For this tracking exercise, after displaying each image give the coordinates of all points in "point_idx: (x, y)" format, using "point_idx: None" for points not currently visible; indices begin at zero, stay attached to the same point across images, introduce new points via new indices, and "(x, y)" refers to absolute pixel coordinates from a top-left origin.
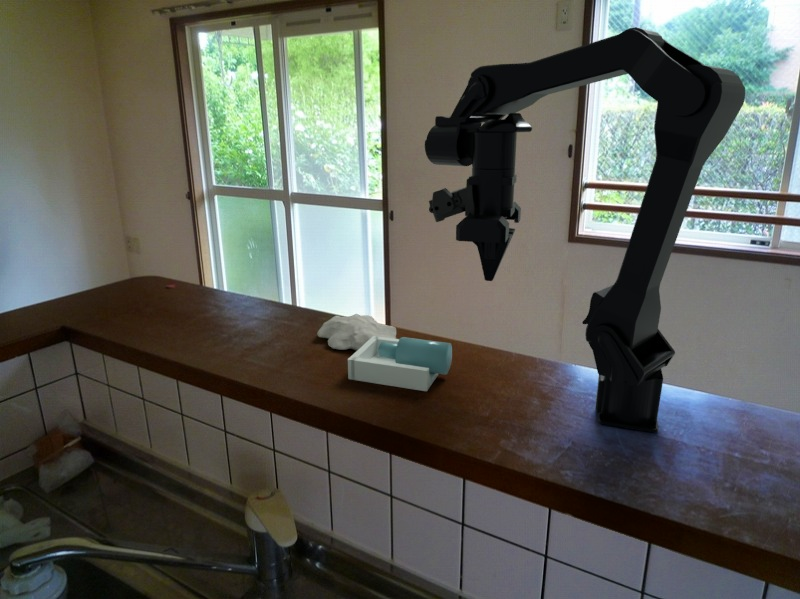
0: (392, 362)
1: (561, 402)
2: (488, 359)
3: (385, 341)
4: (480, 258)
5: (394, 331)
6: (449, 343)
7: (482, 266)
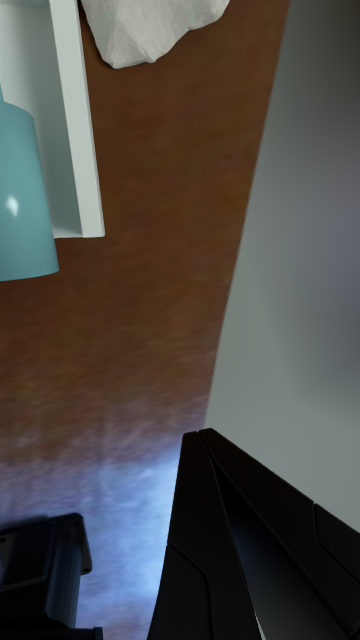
0: (8, 94)
1: (45, 472)
2: (170, 316)
3: (52, 17)
4: (165, 555)
5: (197, 15)
6: (12, 279)
7: (174, 496)
